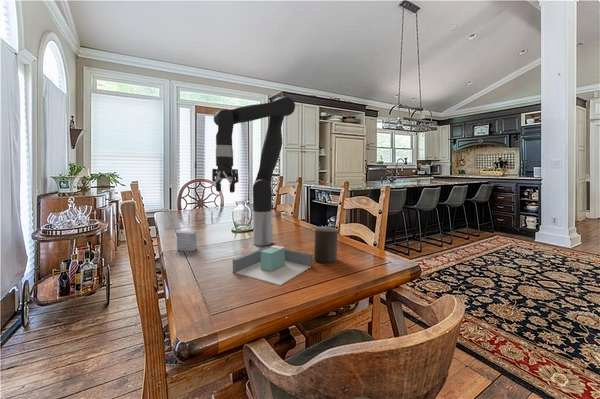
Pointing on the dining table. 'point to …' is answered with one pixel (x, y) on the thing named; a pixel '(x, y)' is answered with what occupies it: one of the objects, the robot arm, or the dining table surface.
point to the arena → (292, 268)
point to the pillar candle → (325, 244)
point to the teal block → (272, 258)
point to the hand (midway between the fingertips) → (225, 191)
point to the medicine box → (186, 241)
